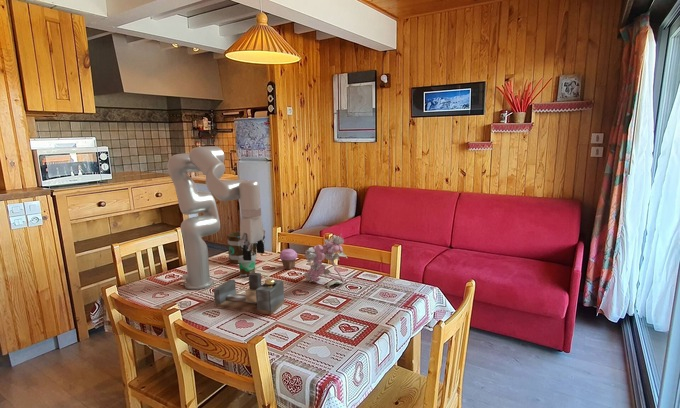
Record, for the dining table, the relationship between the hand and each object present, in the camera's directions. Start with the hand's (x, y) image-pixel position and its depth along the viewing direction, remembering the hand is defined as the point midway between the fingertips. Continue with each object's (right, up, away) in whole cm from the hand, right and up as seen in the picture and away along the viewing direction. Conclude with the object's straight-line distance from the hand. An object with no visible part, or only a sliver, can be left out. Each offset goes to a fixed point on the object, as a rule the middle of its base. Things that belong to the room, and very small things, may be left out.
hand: (254, 256), depth 149 cm
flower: (+25, -16, +26) cm, 39 cm away
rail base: (-3, -20, +5) cm, 21 cm away
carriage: (0, -17, +3) cm, 17 cm away
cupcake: (+7, -13, +48) cm, 50 cm away
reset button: (+6, -15, +1) cm, 16 cm away
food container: (-11, -15, +39) cm, 43 cm away
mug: (-19, -11, +60) cm, 64 cm away
